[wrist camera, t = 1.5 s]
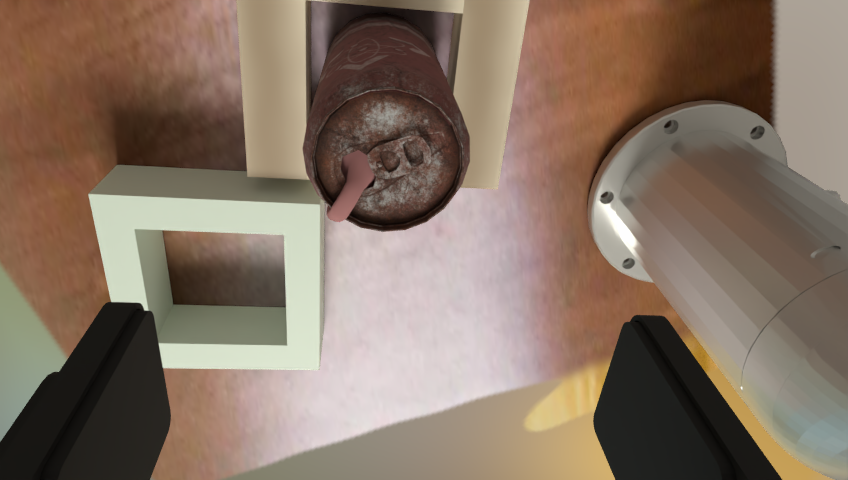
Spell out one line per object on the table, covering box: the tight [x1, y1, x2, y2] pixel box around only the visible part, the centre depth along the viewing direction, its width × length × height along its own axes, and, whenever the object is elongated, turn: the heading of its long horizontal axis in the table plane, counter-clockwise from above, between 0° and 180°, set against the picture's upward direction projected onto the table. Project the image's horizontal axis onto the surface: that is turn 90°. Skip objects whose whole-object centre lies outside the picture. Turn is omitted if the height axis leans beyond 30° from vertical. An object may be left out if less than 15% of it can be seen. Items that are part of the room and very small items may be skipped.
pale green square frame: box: [88, 165, 325, 370], centre depth 36 cm, size 12×12×4 cm
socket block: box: [236, 0, 529, 189], centre depth 31 cm, size 14×11×3 cm
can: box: [302, 13, 470, 232], centre depth 26 cm, size 6×6×14 cm
